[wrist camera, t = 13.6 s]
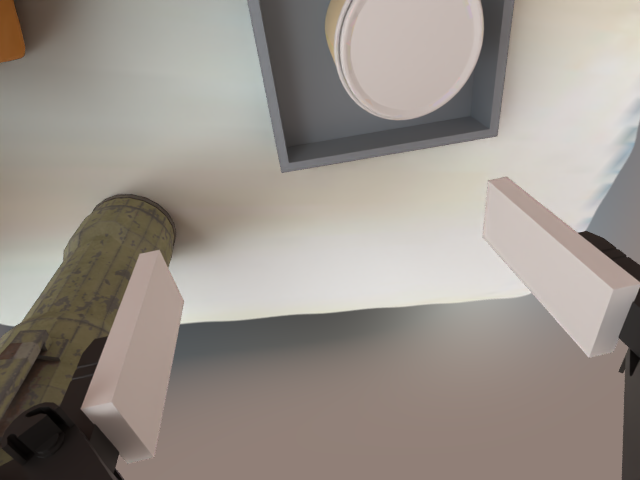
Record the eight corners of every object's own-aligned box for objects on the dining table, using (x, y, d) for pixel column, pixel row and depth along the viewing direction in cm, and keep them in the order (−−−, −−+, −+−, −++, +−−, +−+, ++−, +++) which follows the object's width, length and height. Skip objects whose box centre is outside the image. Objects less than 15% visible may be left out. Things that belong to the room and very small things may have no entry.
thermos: (105, 276, 46) (-157, 787, 17) (73, 181, 40) (-438, 751, 11) (185, 271, 47) (63, 748, 18) (166, 179, 41) (-71, 694, 12)
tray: (279, 152, 40) (281, 172, 36) (228, -107, 29) (223, -120, 25) (473, 119, 41) (497, 136, 37) (497, -148, 30) (535, -167, 26)
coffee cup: (443, -11, 33) (520, -4, 23) (391, 98, 38) (437, 143, 28) (342, -66, 30) (380, -84, 21) (298, 58, 35) (312, 93, 25)
